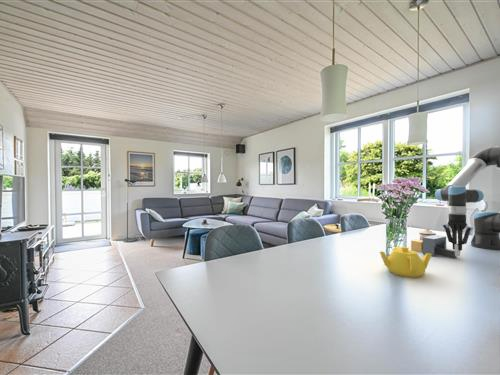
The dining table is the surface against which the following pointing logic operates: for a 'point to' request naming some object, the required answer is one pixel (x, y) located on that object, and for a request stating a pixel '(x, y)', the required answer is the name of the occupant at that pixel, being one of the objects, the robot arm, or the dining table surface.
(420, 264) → the teapot
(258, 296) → the dining table surface
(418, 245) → the plug
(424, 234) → the teacup with lid
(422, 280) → the dining table surface
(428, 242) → the housing
